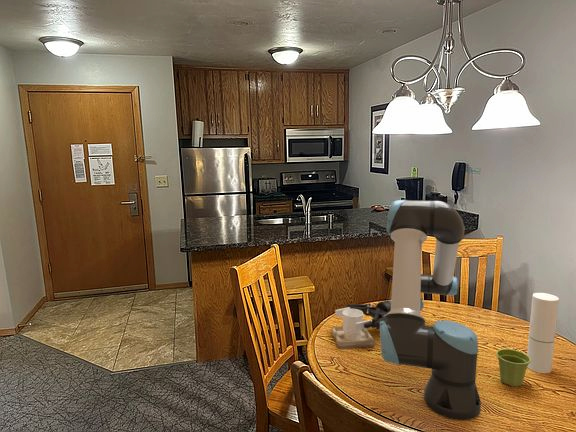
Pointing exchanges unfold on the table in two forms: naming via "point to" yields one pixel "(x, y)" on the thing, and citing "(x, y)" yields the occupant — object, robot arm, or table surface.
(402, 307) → the robot arm
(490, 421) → the table surface
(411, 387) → the table surface
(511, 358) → the plant pot
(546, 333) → the cylindrical container
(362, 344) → the birch tray
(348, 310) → the white cup
